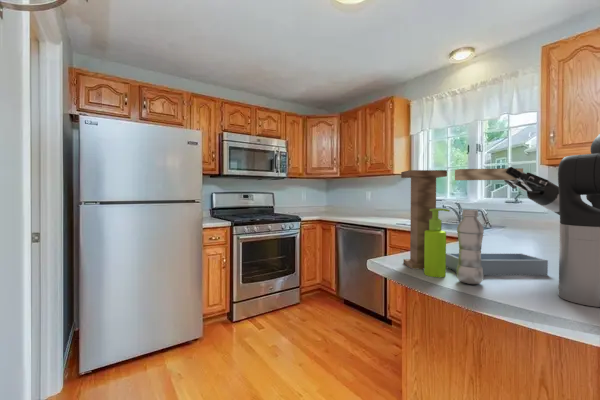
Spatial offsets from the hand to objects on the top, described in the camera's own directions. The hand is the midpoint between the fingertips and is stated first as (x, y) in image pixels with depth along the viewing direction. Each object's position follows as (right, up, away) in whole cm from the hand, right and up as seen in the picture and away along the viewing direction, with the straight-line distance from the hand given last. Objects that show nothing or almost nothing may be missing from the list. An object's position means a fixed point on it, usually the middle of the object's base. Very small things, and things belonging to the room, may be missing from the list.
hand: (504, 170), depth 96 cm
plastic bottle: (-20, -33, -16) cm, 41 cm away
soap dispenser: (-25, -32, -7) cm, 42 cm away
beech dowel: (-5, -3, 0) cm, 6 cm away
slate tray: (-5, -32, -2) cm, 33 cm away
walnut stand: (-25, -32, +4) cm, 41 cm away
